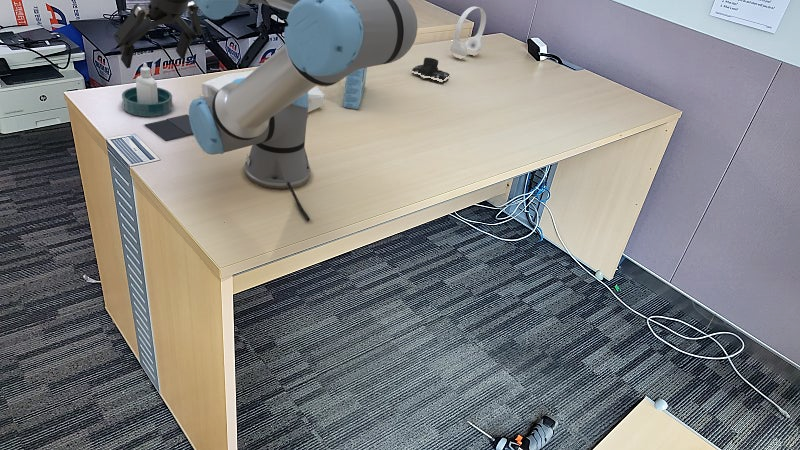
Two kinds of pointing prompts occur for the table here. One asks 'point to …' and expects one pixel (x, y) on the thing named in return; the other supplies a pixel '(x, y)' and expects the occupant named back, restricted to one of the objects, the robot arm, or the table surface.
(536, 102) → the table surface
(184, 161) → the table surface
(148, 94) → the eye dropper bottle
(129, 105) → the bowl
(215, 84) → the document scanner
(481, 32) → the headphones
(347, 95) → the blue cardboard box
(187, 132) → the napkin
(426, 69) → the film camera
